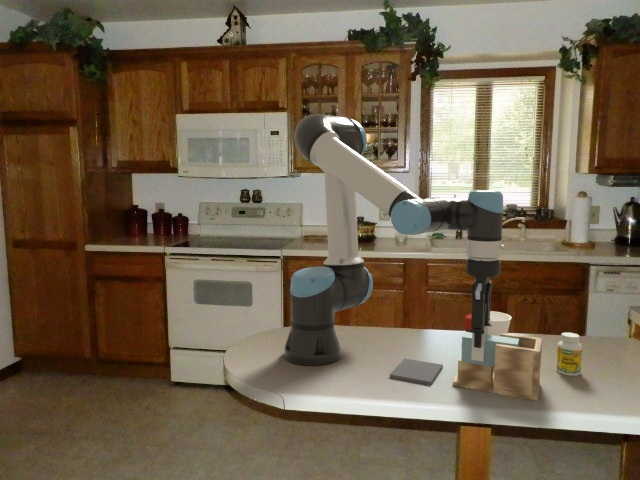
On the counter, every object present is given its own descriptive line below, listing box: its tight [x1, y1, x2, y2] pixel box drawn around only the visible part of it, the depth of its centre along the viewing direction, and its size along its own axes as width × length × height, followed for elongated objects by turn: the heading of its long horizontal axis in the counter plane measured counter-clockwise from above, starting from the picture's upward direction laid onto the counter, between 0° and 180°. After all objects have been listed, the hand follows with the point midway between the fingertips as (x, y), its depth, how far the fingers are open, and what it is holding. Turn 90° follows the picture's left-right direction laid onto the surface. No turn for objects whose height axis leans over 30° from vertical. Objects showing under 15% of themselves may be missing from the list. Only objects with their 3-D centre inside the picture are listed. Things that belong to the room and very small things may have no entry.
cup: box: [486, 310, 512, 336], centre depth 135 cm, size 10×10×11 cm
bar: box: [460, 331, 519, 368], centre depth 116 cm, size 12×4×6 cm, turn 64°
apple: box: [464, 313, 472, 332], centre depth 148 cm, size 6×6×8 cm
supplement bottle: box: [556, 332, 583, 377], centre depth 123 cm, size 5×5×10 cm
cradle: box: [452, 333, 543, 402], centre depth 115 cm, size 18×10×11 cm, turn 64°
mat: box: [389, 357, 444, 386], centre depth 123 cm, size 10×12×1 cm
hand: (479, 356), depth 117 cm, fingers open, 4 cm apart
